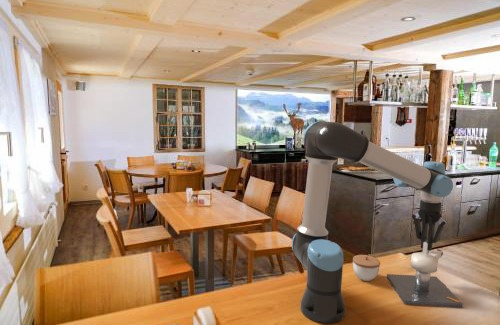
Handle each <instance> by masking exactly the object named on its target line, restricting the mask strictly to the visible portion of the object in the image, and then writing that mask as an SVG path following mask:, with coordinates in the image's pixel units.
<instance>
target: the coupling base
mask: <svg viewBox="0 0 500 325" xmlns="http://www.w3.org/2000/svg"><path fill="white" fill-rule="evenodd" d="M431 274H432V273H425V272H421V271H418V270H415V275H412V274H411V275H410V274H409V275H407V274H392V273H387V274H386V280H387V281H388V282H389V283H390V285H391V287H392V288H393V290H394V291H395V293H396V294H397V296H398V297H399V298H400V300H401V301H402V303H403V305H410V306H411V305H412V306H427V307H445V308H446V307H447V308H463V304H464V303H463V302H462V301H461V300H460V299H459V298H458V297H457V296H456V295H455V294H454V293H453V292H452V291H451V290H450V289H449V288H448V287H447V286H446V284H444V283H443V282H442V281H441V280H440V279H439V278H438V277H437V276H431Z"/></svg>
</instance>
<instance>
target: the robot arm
mask: <svg viewBox="0 0 500 325" xmlns="http://www.w3.org/2000/svg"><path fill="white" fill-rule="evenodd" d="M302 138H303V144H304V145H305V155H304V157H305V158H306V160H307V161H308V166H307V167H308V168H307V175H306V182H305V183H306V184H305V185H306V186H305V194H304V201H303V210H302V219H301V220H302V221H301V224H299V226H297V228H296V233H295V234H294V235H293V237H292V240H291V249H292V251H293V254H294V256H295V257H296V259H297V260H298V261H299V262H300V263H301V264H302V266H303V267H304V269H305V270H306V287H305V289H304V291H303V292H304V293H303V294H302V297H301V300H300V312H301V313H302V314H303V315H304V316H305V318H308V319H309V320H311V321H313V322H316V323H320V324H334V323H338V322H340V321H342V320H344V318H345V317H346V304H345V300H344V296H343V293H342V285H343V284H342V282H343V271H344V270H343V267H344V262H345V261H344V251H343V249H342V248H341V246H340V244H337V243H336V242H334V241H331V240H328V239H329V230H328V229H327V228H326V220H327V212H328V207H329V206H328V205H329V197H330V189H331V188H330V187H331V180H332V172H333V165H334V164H335V163H336V162H338V159H341V160H345V161H348V162H350V163H352V164H358V163H360V164H362V165H365V166H367V167H369V168H371V169H373V170H376V171H378V172H381V173H382V174H384V175H387V176H389V177H391V178H392V179H393V183H394V184H395V185H396V187H398V188H410V189H414V190H417V191H420V201H419V210H418V211H417V213H413V214H411V218H412V219H413V222H414V228H415V229H414V230H415V236H416V239H418V240H420V248H421V249H422V253H426V254H429V253H430V251H431V252H432V249H433V244H436V243H438V242H439V240H440V237H441V234H442V233H443V229H444V228H445V226H446V225H447V224H448V221H447V220H445V219H443V216H442V214H441V212H442V206H443V205H442V203H443V198H445V197H447V196H449V195H450V194H451V192H452V191H453V189H454V182H453V180H452V178H451V177H450V176H448V175H446V164H445V163H444V162H440V161H433V160H431V161H430V160H429V161H424V162H423V165H421V164H418V163H416V162H414V161H411V160H410V159H408V158H405V157H403V156H402V155H399V154H397V153H396V152H393V151H390V150H388V149H386V148H384V147H382V146H379V145H377V144H376V143H373V142H371V141H370V138H369V137H368V136H366V135H364V134H362V133H360V132H358V131H357V130H354V129H353V128H351V127H349V126H347V125H345V124H344V123H340V122H337V121H325V120H320V121H315V122H312V123H311V124H309V125H308V126H307V127H306V129H305V130H304V132H303V137H302ZM437 223H438V224H439V225H438V226H437V229H436V232H435V227H436V224H437Z"/></svg>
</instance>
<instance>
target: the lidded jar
mask: <svg viewBox="0 0 500 325" xmlns="http://www.w3.org/2000/svg"><path fill="white" fill-rule="evenodd" d="M380 267H381V261H380V260H379V259H378V258H377V257H374V256H371V255H367V254H357V255H355V256H353V257H352V269H353V272H354V274H355V275H356V277H357V278H358V279H359V280H361V281H364V282H370V281H373V280H374V279H375V278H377V277H378V274H379V272H380Z"/></svg>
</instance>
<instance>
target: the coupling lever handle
mask: <svg viewBox="0 0 500 325" xmlns="http://www.w3.org/2000/svg"><path fill="white" fill-rule="evenodd" d="M443 255H444V252H443V250H442V249H434V250H433V251H431V252H429V254H426V253H423V252H413V253H411V257H410V267H411V268H412V269H413V270H415V271H416V270H418V271H421V272H425V273H431V274H434V273H436V272H437V271H438V264H439V259H440V258H442V257H443Z"/></svg>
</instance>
